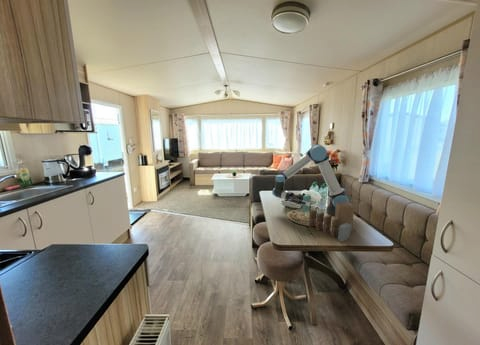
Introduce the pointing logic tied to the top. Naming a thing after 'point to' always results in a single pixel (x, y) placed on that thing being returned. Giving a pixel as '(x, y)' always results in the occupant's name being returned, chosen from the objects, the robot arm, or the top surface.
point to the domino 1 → (307, 199)
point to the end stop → (344, 232)
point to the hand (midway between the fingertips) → (312, 203)
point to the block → (344, 213)
